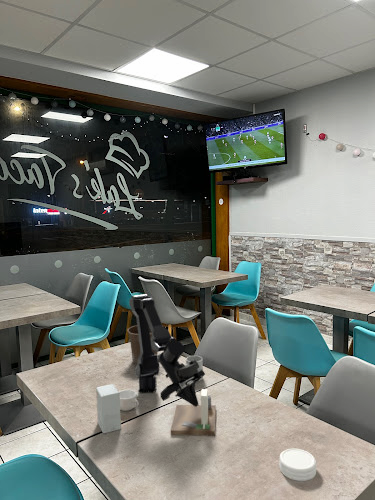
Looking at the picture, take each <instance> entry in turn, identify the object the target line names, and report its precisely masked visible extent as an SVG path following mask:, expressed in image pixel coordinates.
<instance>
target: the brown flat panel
mask: <svg viewBox="0 0 375 500" xmlns="http://www.w3.org/2000/svg"><path fill="white" fill-rule="evenodd" d="M216 412H217V407H216V404H215V405H212V404H211V409H209V410H208V424H207V425H205V429H203V424H201V404H199V405H198V406H196V407H195V406H193V405H192V404H176V405H175V410H174V414H173V418H172V423H171V427H170V435H171V436H173V435H174V436H206V437H207V436H209V437H210V436H213V437H216V415H217V414H216Z"/></svg>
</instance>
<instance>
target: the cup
mask: <svg viewBox="0 0 375 500" xmlns="http://www.w3.org/2000/svg"><path fill="white" fill-rule="evenodd" d="M192 360H196V361H197V363H198V364H199V368H198V369H197V370H199V369H201V370H203V371H204V369H203V368H204V366H203V365H204V364H203V357H202V356H200V355H189V356H187V357H186V358H185V364H184V365H185V366H187V365H189V362H190V361H192ZM203 379H204V376H203V377H202V378H201V379H200V380H199V381H198V382H200V381H202V380H203Z"/></svg>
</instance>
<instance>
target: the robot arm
mask: <svg viewBox="0 0 375 500" xmlns="http://www.w3.org/2000/svg"><path fill="white" fill-rule="evenodd" d="M128 303H129V307H130V311H131V312H132V313H133V315H134V316H135V317H136V324H137V327H138V335H139V343H140V351H141V353H140V355H139V357H138V364H136V366H135V368H134V373H135V376H136V378H138V393H152V394H153V393H154V392H155V390H156V389H157V387H158V385H157V382H158V381H157V377H156V376H158V375H159V373H160V372H159V371H160V365H161V367H162V369H163V370H164V372H165V373H166V374H165V378H167V379H168V378H169V379H170V381H171V382H172V383H171V384H169V385H167V386H166V387H165V388H164V389H162V391H160V399H161V400H162V401H163V402H164V401H167V400H168V399H169V398H170V396H171V395H172V394H173V393H176V394H175V396H174V397H176V398H177V397H179V398H180V399H182V400H184V401H186V403H189V405H193V406H195V407H196V406H198V405H200V404H199V401H198V397H197V393H196V389H195V387H196V384H197V382H200V381H201V380H200V379H201V378H202V377H203V378H204V376H206V373H205V371H204V369H203V370H201V369H199V370H197V369H198V368H199V364H198V363H197V361H196V360H192V361H190V362H189V365H187V366H185V365H186V364H184V363H180V361H179V359H180V358H181V356H182V355H183V353H184V351H185V346H184V344H183V343H181V342H180V341H178V340H177V339H176V337H173V336H172V334H171V333H170V331H169V330H168V329H166V328H165V327H164V325H163V323H162V321H161V319H160V316H159V314H158V311H157V308H156V305H155V300H154V298H153V296H149V295H148V294H146V293H144V294H143V293H142V294H136V295H135V294H134V295H132V296H131V298H129V300H128ZM149 327H150V330H151V333H152V337H151V339H150V331H149ZM152 349H153V350H154V351H156V352H158V353H159V352H161V353H159V354H157V355H155V354H154V353H153V351H152ZM199 380H200V381H199Z"/></svg>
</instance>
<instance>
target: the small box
mask: <svg viewBox="0 0 375 500" xmlns="http://www.w3.org/2000/svg"><path fill="white" fill-rule="evenodd" d="M95 391H96V410H97V413H96V416H97V424H98V426H99V428H100V430H101V432H102V433H103V434H107V433H111V432H114V431H119V430H121V429H122V421H121V419H122V418H121V409H120V395H119V391H120V390H118V388H117V387H116V386H115V384H114V383H111V384H107V385H106V384H105V385H102V386H97V387H96V388H95Z"/></svg>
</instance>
